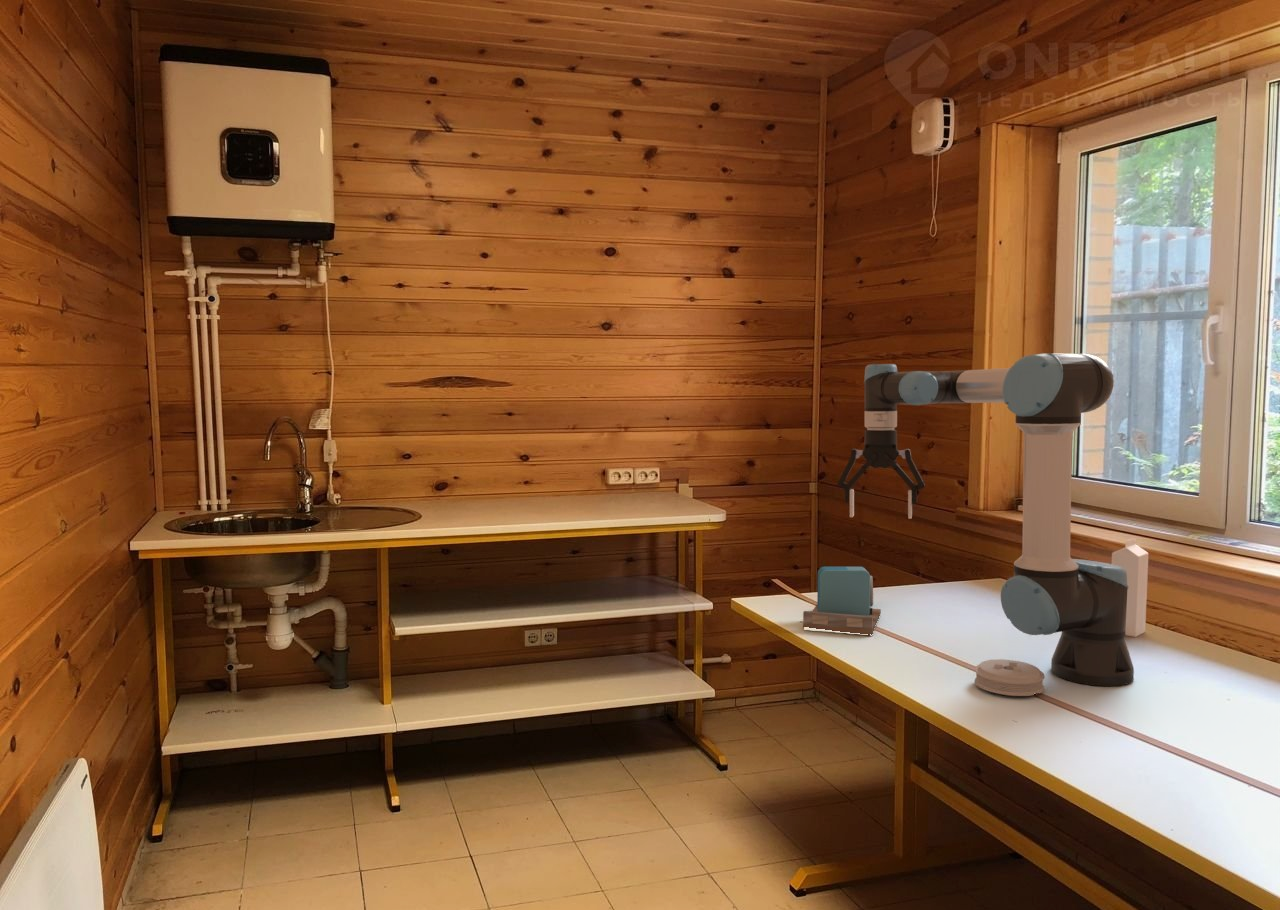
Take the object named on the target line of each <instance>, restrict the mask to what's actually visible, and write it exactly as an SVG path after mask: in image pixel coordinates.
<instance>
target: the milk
mask: <svg viewBox="0 0 1280 910" xmlns="http://www.w3.org/2000/svg"><path fill="white" fill-rule="evenodd" d="M1136 543H1137V539H1136V537H1134V538H1130V539H1127V540H1125V545H1124V547H1123V548H1121V549H1118V550H1115V551H1113V552H1111V564H1112V565H1116V566H1120V567H1122V568H1123V569H1125V571H1126V572H1127V584H1128V589H1127V610H1126V631H1125V636H1127V637H1132V638H1133V637H1134V638H1136V637H1139V636H1140V635H1143V634H1144V633H1146V621H1147V601H1148V600H1147V596H1148V595H1147V594H1148V574H1149V572H1148V571H1149V552H1148V551H1146V550H1145V549H1144V548H1142V547H1140V545H1137V544H1136Z"/></svg>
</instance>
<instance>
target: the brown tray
mask: <svg viewBox="0 0 1280 910" xmlns="http://www.w3.org/2000/svg"><path fill="white" fill-rule="evenodd" d="M881 611H882V609H881V608H873V607H870V613H869V616H864V615H851V614H838V613H826V612H818V609H817V604H816V605H815V607H814V608H813V609H812V611H810V610H804V611H803V612H802V613H803V614H802V616H803V619H802V621H803V622H802V625H803V627H809V628H816V629H825V630H832V631H840V632H850V633H860V634H868V635H870V634H871V635H872V634H873V635H874V633H873V631H874V632H875V630H874V628H875V625H876V623H877V621H878V622H879V620H880V618H879V616H880V614H881ZM880 617H881V616H880ZM878 619H879V620H878ZM877 624H878V623H877ZM876 626H877V625H876ZM803 627H802V628H803ZM875 629H876V628H875ZM873 635H872V636H873Z"/></svg>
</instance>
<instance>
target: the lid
mask: <svg viewBox="0 0 1280 910" xmlns="http://www.w3.org/2000/svg"><path fill="white" fill-rule="evenodd" d="M974 671H975V674H976V675H975V679H974V684H975V685H976V686H977V687H978V688H980V689H982V690H984V691H987V692H990V693H994V694H999V695H1002V696H1003V695H1004V696H1013V697H1028V696H1035V695H1034V693H1039V694H1042V693H1043V692H1044V691H1045V686H1044V680H1045V678H1046V677H1045V675H1046V674H1045V673H1044V672H1043V671H1041V670H1040V668H1038V667H1037V666H1036V665H1034V664H1031V663H1028V662H1024V661H1019V660H1014V659H1001V658H1000V659H999V658H998V659H988V660H985V661H981V662H980V663H979V664H977V665H976V666H975V667H974Z"/></svg>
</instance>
